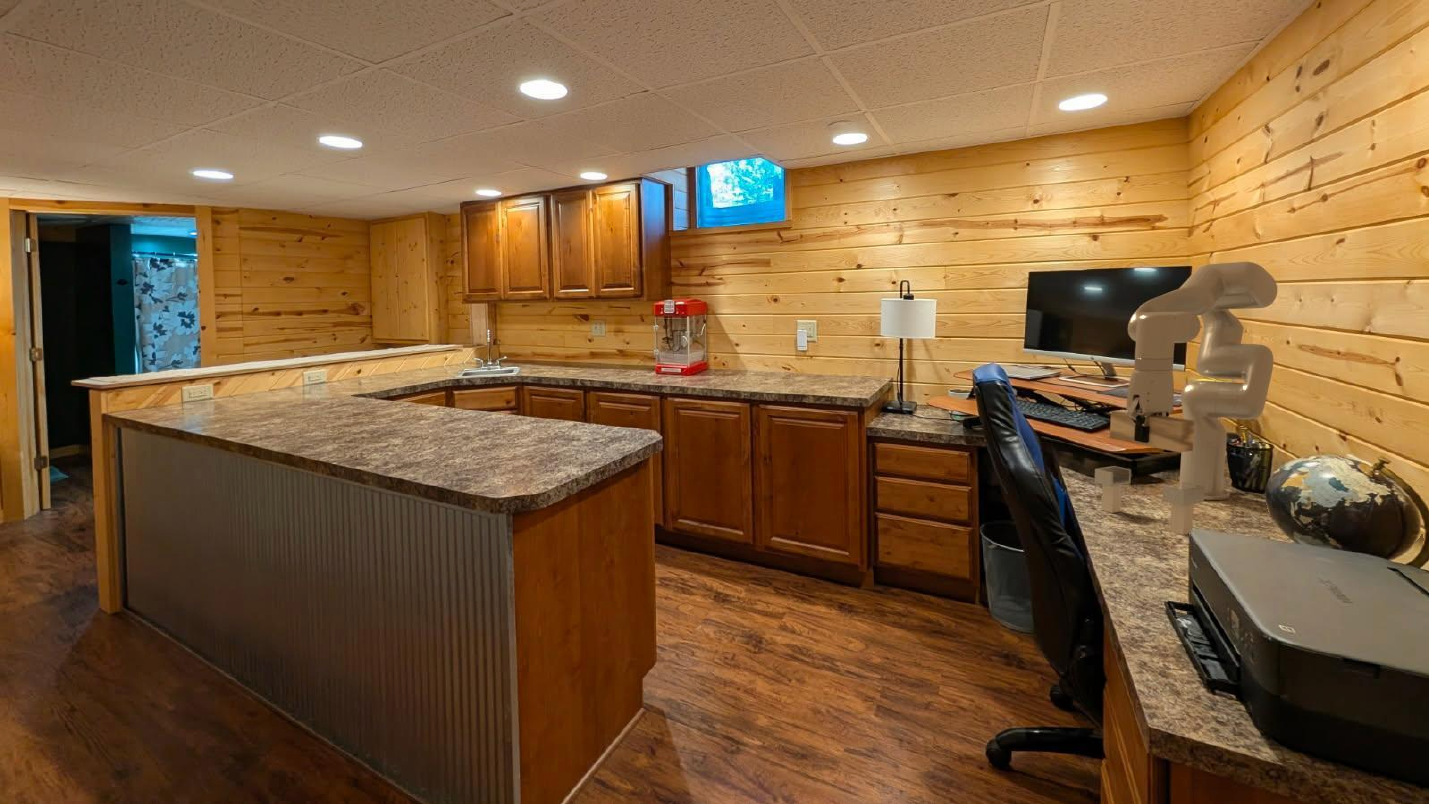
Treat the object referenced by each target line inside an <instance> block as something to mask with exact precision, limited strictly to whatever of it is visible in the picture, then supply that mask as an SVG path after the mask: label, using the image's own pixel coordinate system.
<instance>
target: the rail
mask: <svg viewBox="0 0 1429 804" xmlns="http://www.w3.org/2000/svg"><path fill="white" fill-rule="evenodd" d="M1127 412H1128V411H1127V409H1120V410H1118V409H1117V410H1111V411H1110V425H1109V428H1110V429H1109V439H1111V440H1116V441H1123V442H1127V443H1132V444H1137V445H1141V446H1146V447H1151V448H1158V449H1159V450H1166V451H1172V452H1175V453H1182V452H1187V451H1193V439H1194V425H1195V421H1193V420H1187V419H1183V418H1179V417H1174V416H1173V417H1172V416H1168V417H1167V416H1160V415H1158V414H1157V415H1154V414H1150V417H1149V421H1148V425H1147V426H1149V427H1150V429H1149V442H1148V443H1143V442H1138V441H1135V440H1134V436H1135V425H1134V424H1133V420H1132V419H1131V418H1130V417H1129V416H1128V415H1127ZM1140 416H1141V417H1142V418H1144V415H1140Z"/></svg>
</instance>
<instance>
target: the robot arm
mask: <svg viewBox="0 0 1429 804" xmlns="http://www.w3.org/2000/svg"><path fill="white" fill-rule="evenodd" d="M1277 296H1278V284H1277V282H1276V279H1275V278H1274V277H1273V275H1271V273H1269V272H1268V271H1267V270H1266V269H1265V268H1264V267H1263V266H1261V265H1260V264H1259V263H1255V262H1251V261H1237V262H1236V261H1235V262H1223V263H1211V264H1205V265H1202V266H1200V267H1199V268H1197V269H1196V270H1195V271H1194V272H1192V274H1191V275H1190V276H1189V277H1188V278H1187V279H1186V281H1185V282H1183V284H1182V285H1181V286H1179V288H1177V289H1174V290H1172V291H1169V292H1167V293H1163V294H1162V295H1159V296H1156V297H1154V298H1151V299H1149V300H1147V301H1146V302H1144V303H1142V305H1140V306H1139V308H1137V309H1136V311H1135V312H1134V313H1133V314H1132V316H1131V317H1130V319H1129V321H1128V324H1127V335H1128V336H1129V337H1130V338H1131V340H1132V341H1134V342H1135V349H1134V369H1133V371H1132V373H1131V376H1130V379H1129V383H1128V390H1127V397H1126V410H1127V411H1128V412H1127V415H1128V416H1129V417H1130V418H1131V419H1132V420H1133V424H1134V425H1135V436H1134V440H1135V441H1138V442H1143V443H1148V442H1149V429H1150V427H1149V426H1147V425H1148V421H1149V417H1150V414H1154V415H1160V416H1167V417H1170V415H1171V413H1173V411H1174V407H1173V405H1174V395H1175V394H1174V393H1175V386H1174V374H1173V372H1174V355H1175V354H1174V353H1175V352H1174V351H1175V344H1182V343H1183V344H1184V343H1188V342H1191V341H1193V340H1194V339H1196V337H1198V335H1199V333H1200V331H1201V328H1202V327H1201V320H1202V323H1203V332H1202V336H1201V341H1200V344H1199V349H1198V354H1197V358H1196V365H1195V369H1196V372H1197V374H1198V375H1200V376H1201V377H1206V378H1212V379H1222V380H1223V379H1225V380H1241V381H1242V380H1243V381H1244V382H1232V381H1231V382H1230V381H1215V380H1195V381H1191V382H1190V383H1187V384H1186V385H1184V387H1183V388H1182V389H1181V394H1180V400H1181V401H1180V402H1181V409H1182V417H1183V418H1182V419H1187V420H1193V421H1195V425H1194V439H1193V451H1187V452H1180V453H1181V456H1180V471H1179V483H1178V484H1174V485H1172V487H1174V488H1178V489H1182V482H1185V483H1190V484H1194V485H1198V486H1203V487H1205V491H1204V501H1205V500H1206V501H1208V500H1209V501H1223V500H1227V499H1229V498H1230V497H1231V496H1230V494H1231V493H1230V492H1229V491H1228V490H1226V489H1224V488H1225V486H1228V485H1231V484H1232V483H1233V480H1232V478H1230V477H1225V465H1226V454H1227V453H1226V451H1227V439H1228V434H1227V430H1226V427H1225V426H1224V425H1223V423H1222V422H1221V421H1220V419H1218V418H1226V419H1233V420H1234V419H1235V420H1236V419H1237V420H1249V421H1250V420H1256V419H1257V418H1259V417H1260V416H1261V415H1262V413H1263V411H1264V409H1265V405H1266V402H1267V401H1266V400H1267V396H1268V391H1269V387H1270V382H1271V378H1272V374H1273V369H1274V355H1273V352H1272V350H1271V348H1270V347H1268V346H1266V345H1264V344H1257V343H1255V344H1254V343H1242V339H1243V334H1244V326H1243V324H1242V323H1241V321H1240V320H1239V319H1238V318H1237V316H1236V315H1234V313H1232V312H1231V311H1230V310H1247V309H1249V310H1250V309H1264V308H1267V307H1269V306H1271V305H1272V304H1273V303H1274V302H1275V300H1276V298H1277ZM1199 316H1200V317H1201V320H1200V318H1199ZM1140 415H1144V418H1142V417H1141V416H1140Z"/></svg>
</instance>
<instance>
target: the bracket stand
mask: <svg viewBox="0 0 1429 804" xmlns="http://www.w3.org/2000/svg"><path fill="white" fill-rule="evenodd" d="M1131 478H1132V469H1129V468H1126V467H1125V468H1124V467H1120V466H1116V465H1113V466H1112V465H1111V466H1106V467H1099V468H1095V469H1094V483H1095V484H1098V485H1101V486H1102V489H1101V490H1102V491H1101V508H1100V509H1101V510H1102V511H1105V512H1107V513H1111V514H1113V513H1120V512H1121V509H1122V490H1123V485H1130V484H1131V481H1132V480H1131ZM1162 487H1163V488H1162V502H1167V503H1170V504H1171V509H1170V520H1169V522H1170V523H1169V531H1170V532H1172V533H1176V534H1179V535H1182V536H1183V535H1189V534H1188V533H1189V531H1190V530H1192V531H1193V525H1194V513H1195V512H1194V509H1195V505H1197V504H1201V503H1202V504H1203V503H1204V501H1205V499H1204V491H1205V487H1203V486H1198V485H1194V484H1190V483H1185V482H1182V489H1178V488H1174V487H1173V486H1170V485H1163V486H1162Z"/></svg>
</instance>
